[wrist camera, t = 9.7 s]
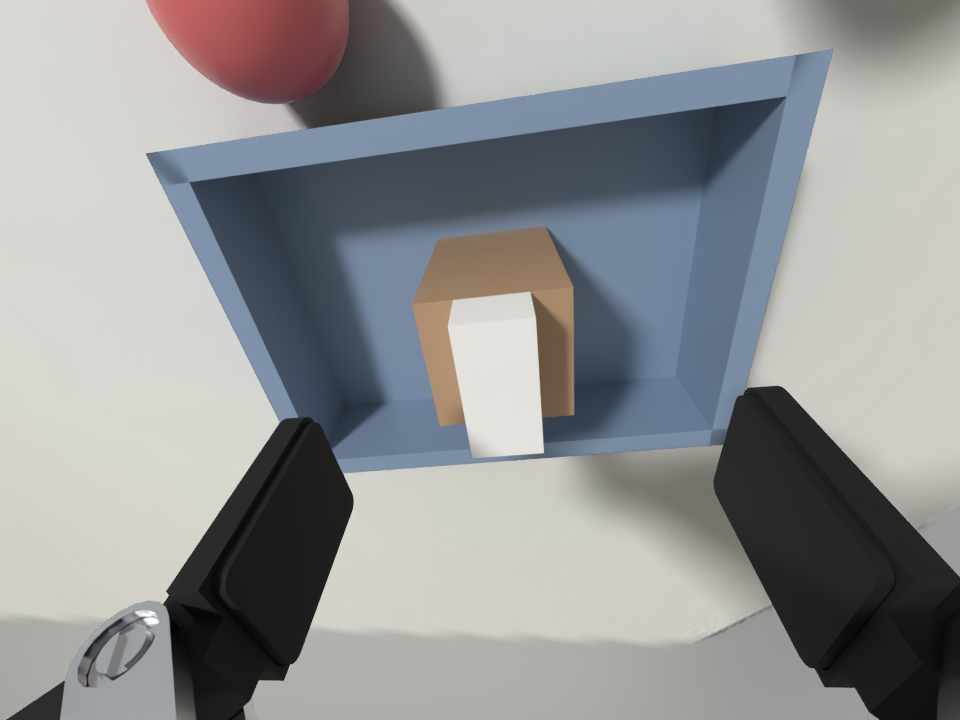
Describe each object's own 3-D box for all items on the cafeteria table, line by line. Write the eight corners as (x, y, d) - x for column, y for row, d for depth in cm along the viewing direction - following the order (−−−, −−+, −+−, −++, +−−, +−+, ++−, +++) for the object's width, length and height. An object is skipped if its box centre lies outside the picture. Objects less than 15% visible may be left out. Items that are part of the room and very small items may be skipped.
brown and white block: (549, 323, 21) (583, 449, 13) (454, 332, 22) (434, 461, 14) (545, 225, 19) (584, 312, 11) (438, 238, 19) (400, 331, 11)
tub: (734, 65, 16) (833, 49, 12) (684, 379, 24) (730, 444, 20) (235, 141, 18) (145, 153, 13) (339, 409, 26) (306, 475, 21)
